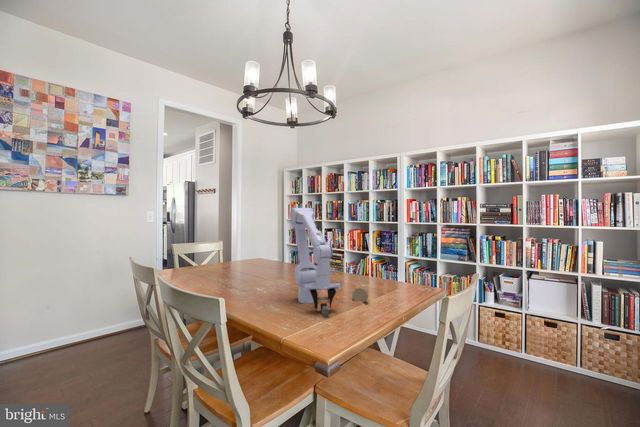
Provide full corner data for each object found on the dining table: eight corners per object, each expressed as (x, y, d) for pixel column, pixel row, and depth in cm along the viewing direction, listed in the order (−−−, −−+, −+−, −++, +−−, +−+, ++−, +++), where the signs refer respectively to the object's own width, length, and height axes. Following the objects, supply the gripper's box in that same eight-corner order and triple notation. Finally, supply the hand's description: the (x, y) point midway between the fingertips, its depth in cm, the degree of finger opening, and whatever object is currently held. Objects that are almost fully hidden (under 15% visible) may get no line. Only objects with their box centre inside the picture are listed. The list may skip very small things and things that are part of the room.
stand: (308, 308, 126) (308, 298, 126) (326, 307, 127) (326, 296, 127) (317, 324, 108) (317, 312, 108) (338, 322, 110) (338, 310, 110)
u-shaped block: (315, 307, 119) (315, 297, 119) (327, 306, 120) (327, 296, 120) (317, 311, 115) (317, 300, 115) (329, 310, 116) (329, 299, 116)
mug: (367, 298, 141) (371, 283, 136) (363, 313, 133) (367, 298, 127) (352, 293, 142) (356, 278, 137) (347, 308, 134) (351, 292, 129)
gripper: (306, 277, 112) (306, 312, 112) (342, 275, 115) (342, 309, 115) (303, 273, 119) (303, 306, 119) (337, 271, 122) (337, 303, 122)
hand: (322, 307), depth 118 cm, fingers closed on u-shaped block, 5 cm apart
